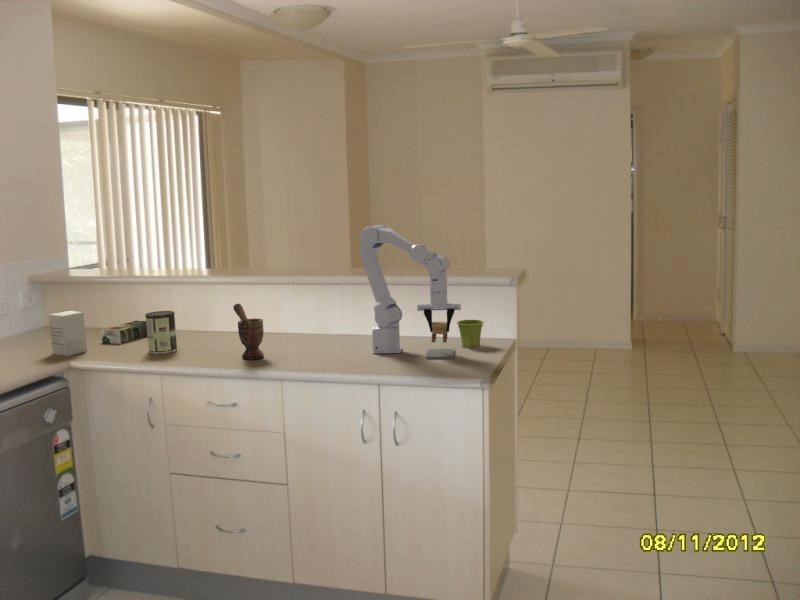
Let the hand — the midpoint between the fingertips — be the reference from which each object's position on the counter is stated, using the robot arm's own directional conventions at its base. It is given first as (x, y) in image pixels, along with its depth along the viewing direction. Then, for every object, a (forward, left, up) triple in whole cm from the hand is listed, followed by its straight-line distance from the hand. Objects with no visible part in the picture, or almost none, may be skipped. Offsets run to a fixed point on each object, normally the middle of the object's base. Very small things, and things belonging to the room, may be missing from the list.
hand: (439, 331), depth 299 cm
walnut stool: (0, 0, -3) cm, 3 cm away
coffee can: (-102, +13, -8) cm, 103 cm away
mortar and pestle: (-65, -2, -8) cm, 66 cm away
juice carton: (-126, +38, -9) cm, 131 cm away
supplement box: (-137, +12, -8) cm, 138 cm away
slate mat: (0, 0, -8) cm, 8 cm away
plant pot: (+10, +14, -8) cm, 19 cm away
